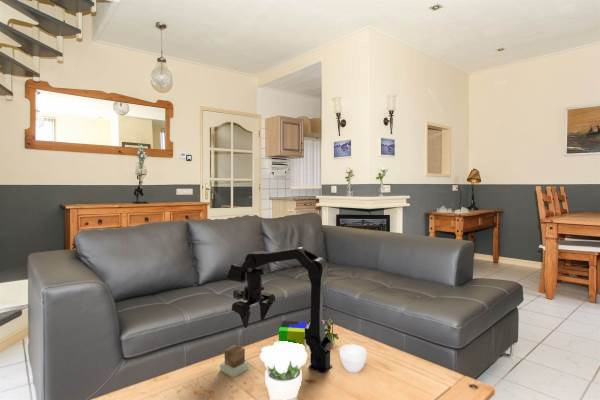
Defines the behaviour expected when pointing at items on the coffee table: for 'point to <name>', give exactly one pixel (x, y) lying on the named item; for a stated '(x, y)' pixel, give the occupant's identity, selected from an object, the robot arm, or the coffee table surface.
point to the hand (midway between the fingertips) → (254, 323)
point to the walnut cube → (234, 356)
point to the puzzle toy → (293, 332)
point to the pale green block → (233, 369)
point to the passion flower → (328, 334)
